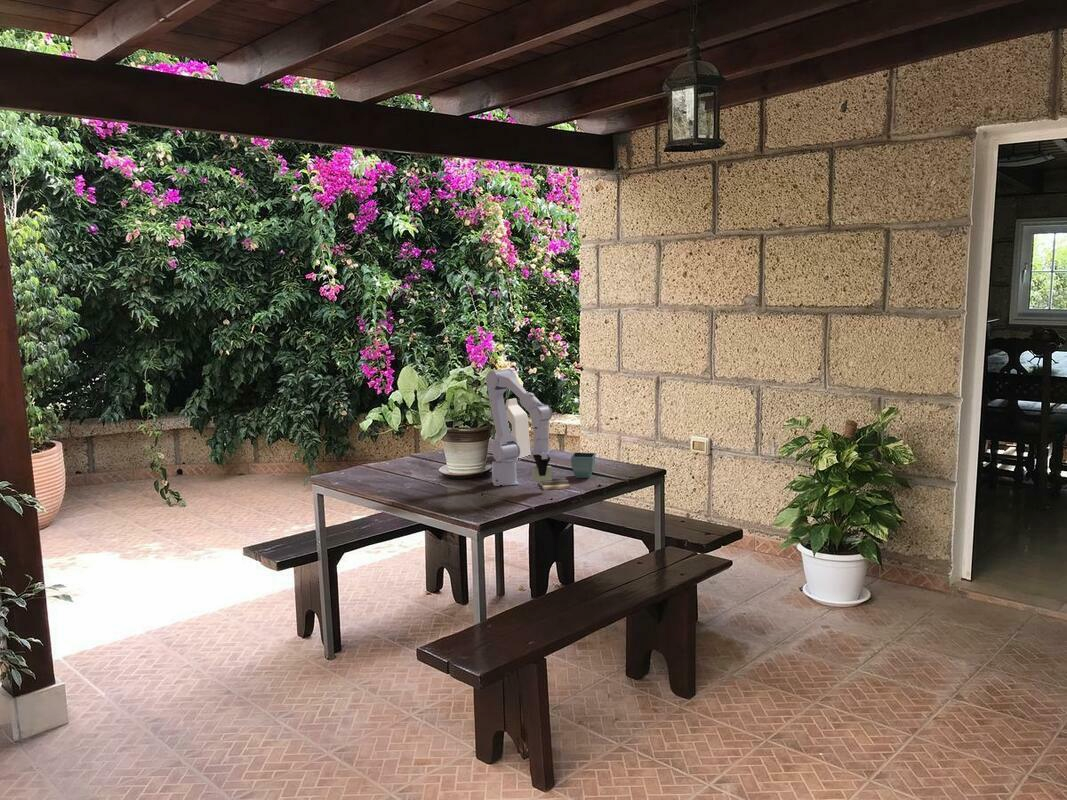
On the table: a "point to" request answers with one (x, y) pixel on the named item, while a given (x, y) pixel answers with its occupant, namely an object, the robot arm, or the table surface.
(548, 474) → the pale green block
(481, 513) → the table surface
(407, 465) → the table surface
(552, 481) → the track board
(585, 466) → the flower pot
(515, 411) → the milk
